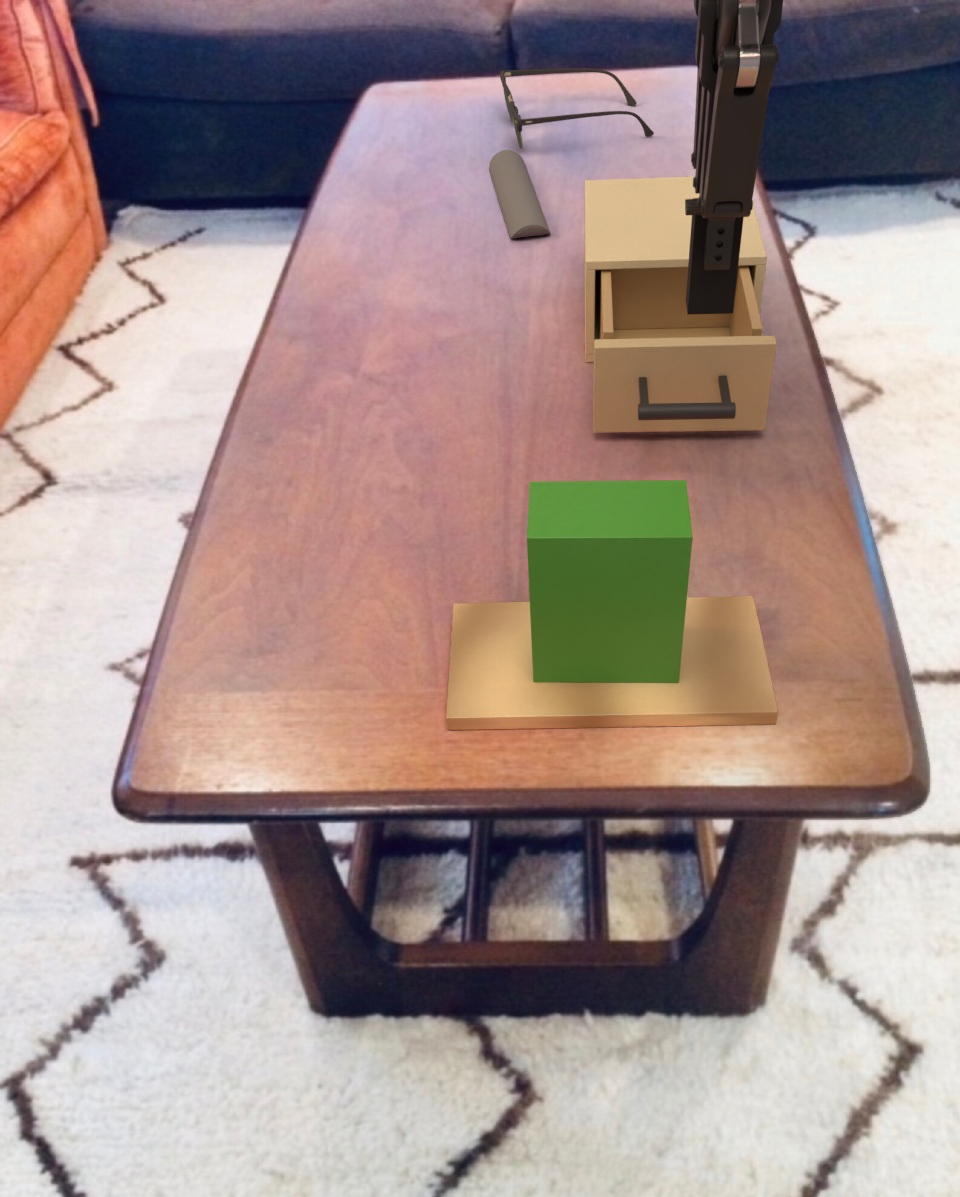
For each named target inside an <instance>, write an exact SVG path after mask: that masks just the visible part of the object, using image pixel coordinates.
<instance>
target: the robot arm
mask: <svg viewBox="0 0 960 1197" xmlns="http://www.w3.org/2000/svg"><path fill="white" fill-rule="evenodd" d="M783 6H784V0H693V7H694V12H695V15H696V16H697V18H696V36H695V50H694V58H695V62H696V67H697V73H696V74H697V75H696V92H695V93H696V94H695V113H694V135H693V151H692V153H691V154H690V162H691V167H693V168H692V169H693V170H695V173H694V174H695V177H694V176H693V177H694V178H693V187H694V188H695V193H696V194H699V198H693V199H685V215H692V222H691V236H690V249H689V263H688V276H687V290H686V307H687V315H689V314H730V313H733V310H734V300H735V291H736V282H737V273H738V264H739V254H740V245H741V236H742V227H743V218H744V217H749V216H750V214H751V210H752V208H753V204H754V200H753V196H754V191H755V185H756V179H757V173H758V166H759V159H760V152H761V146H762V140H763V135H764V127H765V122H766V115H767V108H768V102H769V96H770V91H771V87H772V84H773V79H774V76H775V72H776V67H777V65H778V64H779V61H780V60H779V59H780V53H779V52H778V51H779V50H778V46H777V44H775V43H774V39H775V33H776V32H777V31H778V29H779V28H780V26H781V22H782V15H783V8H784V7H783Z"/></svg>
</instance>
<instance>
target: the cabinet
mask: <svg viewBox="0 0 960 1197" xmlns="http://www.w3.org/2000/svg"><path fill="white" fill-rule="evenodd" d="M694 177H695V176H694V175H693V176H671V177H644V178H643V177H641V178H638V177H637V178H617V179H616V178H612V179H586V180H584V237H583V238H584V240H583V241H584V245H583V246H584V247H583V248H584V254H583V256H584V257H583V258H584V259H583V260H584V261H583V264H584V266H583V267H584V268H583V270H584V273H583V274H584V276H583V278H584V279H583V281H584V282H583V283H584V287H583V288H584V362H585V363H594V340H595V339H600V278H601V269H637V268H673V267H688V263H689V249H690V236H691V222H692V215H685V199H693V198H699V194H696V193H695V188H694V187H693V178H694ZM755 208H756V207H755V204H754V203H753V208H752V210H751V214H750V216H749V217H744V218H743V227H742V236H741V245H740V254H739V264H738V266H744V265H748V266H749V271H750V275H751V279H752V284H753V288H754V292H755V297H756V301H757V305H758V310H759V314H760V315H761V308H762V299H763V292H764V286H765V279H766V278H765V276H766V269H767V261H768V255H767V252H766V247H765V243H764V240H763V236H762V232H761V229H760V225H759V224H760V223H759V219H758V216H757V212H756V209H755Z"/></svg>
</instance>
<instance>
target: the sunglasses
mask: <svg viewBox="0 0 960 1197" xmlns="http://www.w3.org/2000/svg"><path fill="white" fill-rule="evenodd" d="M569 73H571V74H572V73H599V74H604V75H608V76H610V77H611V78H612V79H614V80H615V82H616V83H617V84H618V86H619V88H620V89H621V91H622V93H623V95H624V97H625V100H626V103H627V105H628V106H630V107H635V106H636V105H637V100H636V99H635V98H634V97H633V96H632V94H631V93H630V92H629V90H628V89H627V87H626V86H625V85H624V83H623V82H622V81H621V80H620V78H619V77H618V76H617V75H615V74H614V73H613V72H612V71H611V72H610V71H608V70H604V69H599V68H579V67H577V68H536V69H535V68H534V69H514V70H513V69H511V70H509V69H508V70H501V71H500V73H499V79H500V82H501V85H502V90H503V94H504V95H503V96H504V101H505V105H506V109H507V114H508V116H509V120H510V123H511V124H512V125H513V127H514V132H515V137H516V140H517V144H518V146H519V150H520V151H523V150H524V143H523V137H522V132H523V126H531V125H539V124H545V123H547V124H548V123H555V122H560V121H561V122H562V121H570V120H576V119H577V120H578V119H585V118H594V117H603V116H604V117H605V116H615V115H628V116H632V117H634V118H635V119H636V120H637V121H638V122H639V124H640V125H641V127H642V130H643V133H644V136H645V138H650V137H652V136H654V134H655V133H654V131H653V130H652V129H651V128H650V127H649V125H648V124H647V123H646V122H645V121H644V120H643V119H642V117H641V116H639V115H638V114H637V113H636V112H633V111H629V110H609V111H608V110H607V111H596V112H595V111H594V112H583V113H571V114H560V115H552V116H542V117H529V118H522V117H521V114H519V108H518V106H517V105H516V103H515V101H514V100H513V94H512V92H511V90H510V88H509V86H508V84H507V79H506V78H507V77H508V78H509V77H520V76H521V77H522V76H535V75H536V76H537V75H550V74H553V75H554V74H569Z"/></svg>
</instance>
